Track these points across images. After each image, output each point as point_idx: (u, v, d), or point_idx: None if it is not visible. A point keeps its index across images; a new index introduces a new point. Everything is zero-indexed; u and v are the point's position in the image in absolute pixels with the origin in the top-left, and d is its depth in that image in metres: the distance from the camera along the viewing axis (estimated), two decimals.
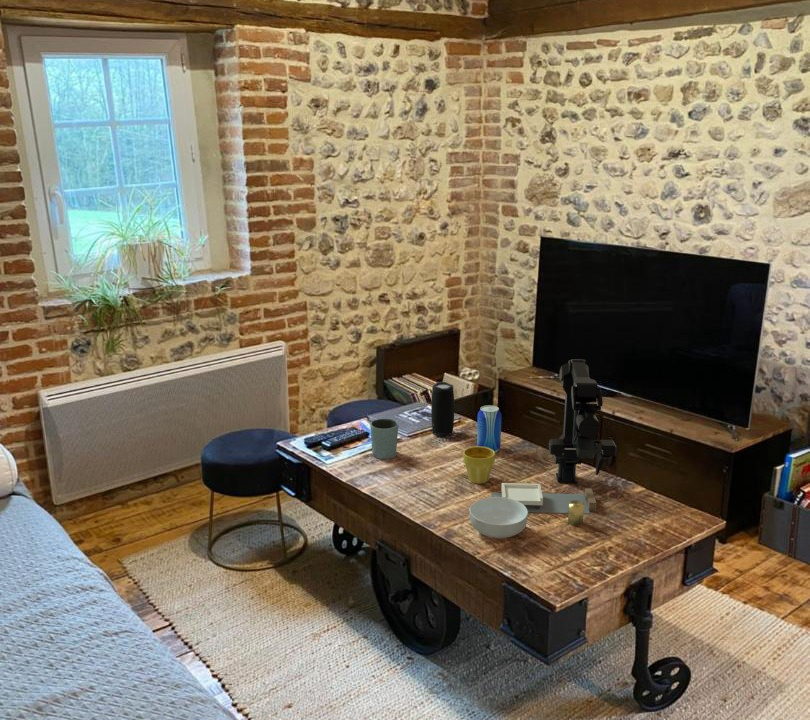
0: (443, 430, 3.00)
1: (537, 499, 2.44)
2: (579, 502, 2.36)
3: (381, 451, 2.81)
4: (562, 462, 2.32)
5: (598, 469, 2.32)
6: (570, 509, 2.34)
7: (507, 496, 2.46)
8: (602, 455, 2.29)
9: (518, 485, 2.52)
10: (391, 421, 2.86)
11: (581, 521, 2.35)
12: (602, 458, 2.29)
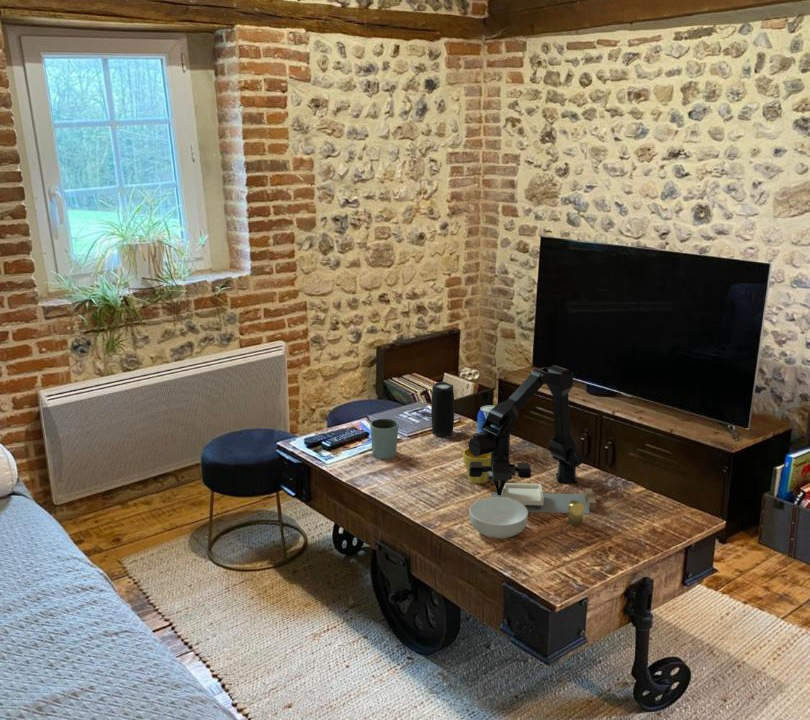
0: (443, 430, 3.00)
1: (538, 499, 2.44)
2: (579, 502, 2.36)
3: (381, 451, 2.81)
4: (495, 484, 2.47)
5: (500, 490, 2.47)
6: (570, 509, 2.34)
7: (508, 496, 2.46)
8: None
9: (519, 485, 2.52)
10: (391, 421, 2.86)
11: (581, 521, 2.35)
12: (503, 480, 2.45)
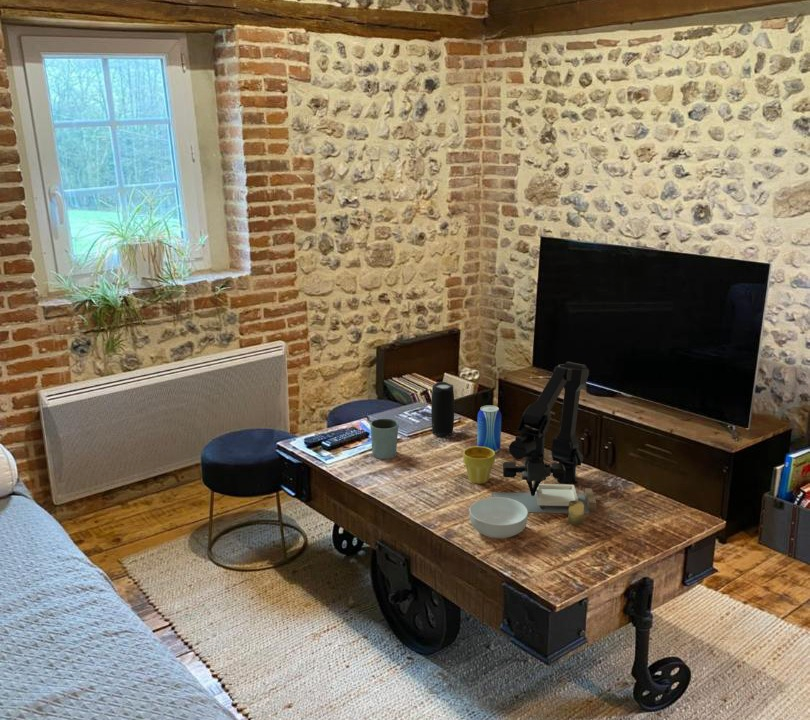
0: (443, 430, 3.00)
1: (572, 500, 2.43)
2: (579, 502, 2.36)
3: (381, 451, 2.81)
4: (529, 484, 2.46)
5: (534, 490, 2.47)
6: (570, 509, 2.34)
7: (542, 497, 2.45)
8: None
9: (552, 486, 2.51)
10: (391, 421, 2.86)
11: (581, 521, 2.35)
12: (537, 480, 2.44)
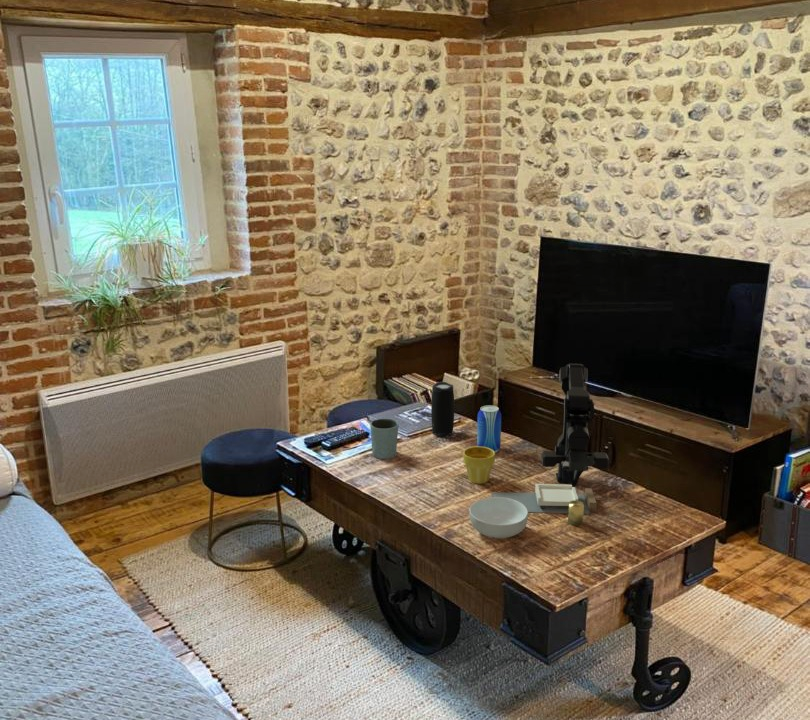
0: (443, 430, 3.00)
1: (572, 500, 2.43)
2: (579, 502, 2.36)
3: (381, 451, 2.81)
4: (570, 475, 2.31)
5: (575, 481, 2.32)
6: (570, 509, 2.34)
7: (542, 497, 2.45)
8: None
9: (552, 486, 2.51)
10: (391, 421, 2.86)
11: (581, 521, 2.35)
12: (579, 470, 2.30)
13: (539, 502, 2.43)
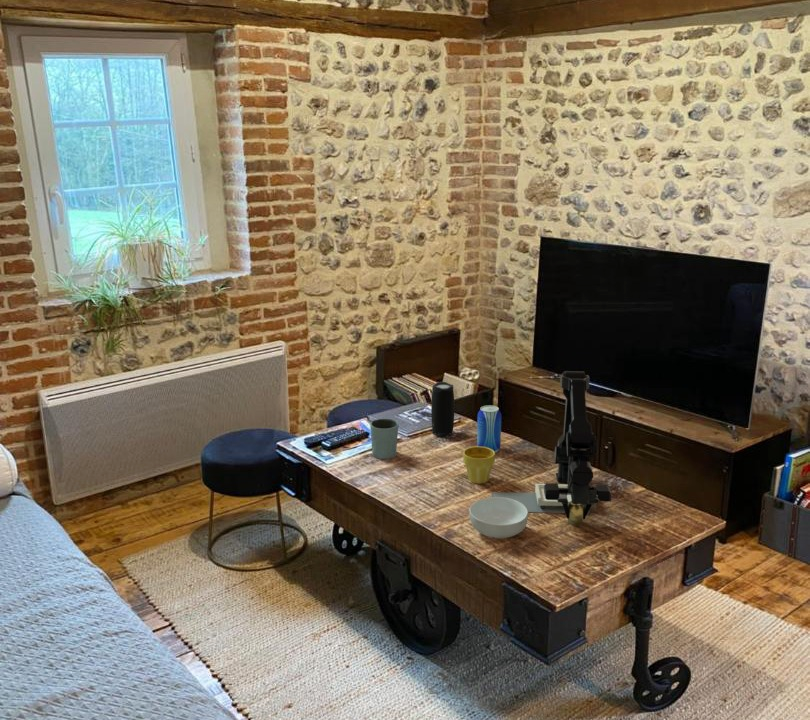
0: (443, 430, 3.00)
1: None
2: None
3: (381, 451, 2.81)
4: (565, 507, 2.34)
5: (585, 513, 2.34)
6: (570, 509, 2.34)
7: (542, 497, 2.45)
8: (589, 500, 2.32)
9: None
10: (391, 421, 2.86)
11: (581, 521, 2.35)
12: (589, 503, 2.32)
13: (539, 502, 2.43)
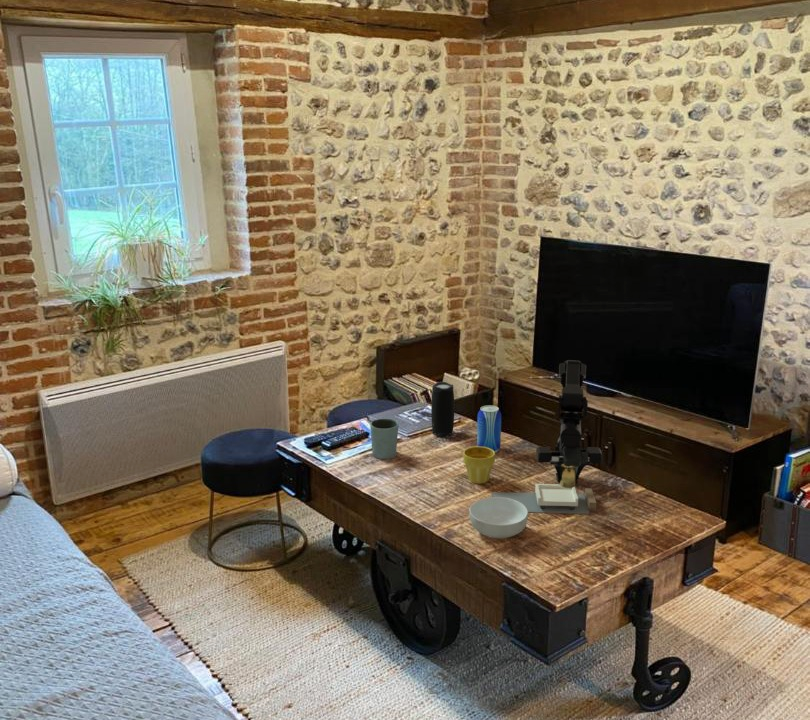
0: (443, 430, 3.00)
1: (572, 500, 2.43)
2: None
3: (381, 451, 2.81)
4: (557, 469, 2.37)
5: (577, 475, 2.38)
6: (562, 471, 2.37)
7: (542, 497, 2.45)
8: (581, 462, 2.35)
9: (552, 486, 2.51)
10: (391, 421, 2.86)
11: (573, 483, 2.38)
12: (581, 465, 2.35)
13: (539, 502, 2.43)
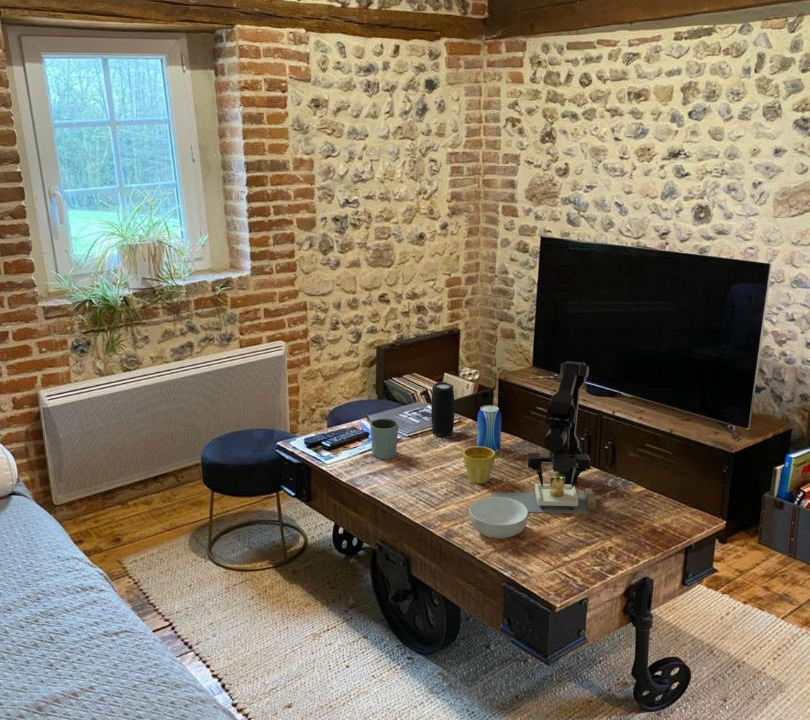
0: (443, 430, 3.00)
1: (572, 500, 2.43)
2: (560, 475, 2.46)
3: (381, 451, 2.81)
4: (539, 475, 2.45)
5: (573, 482, 2.45)
6: (551, 481, 2.45)
7: (542, 497, 2.45)
8: (577, 468, 2.42)
9: None
10: (391, 421, 2.86)
11: (562, 493, 2.45)
12: (577, 471, 2.42)
13: (539, 502, 2.43)
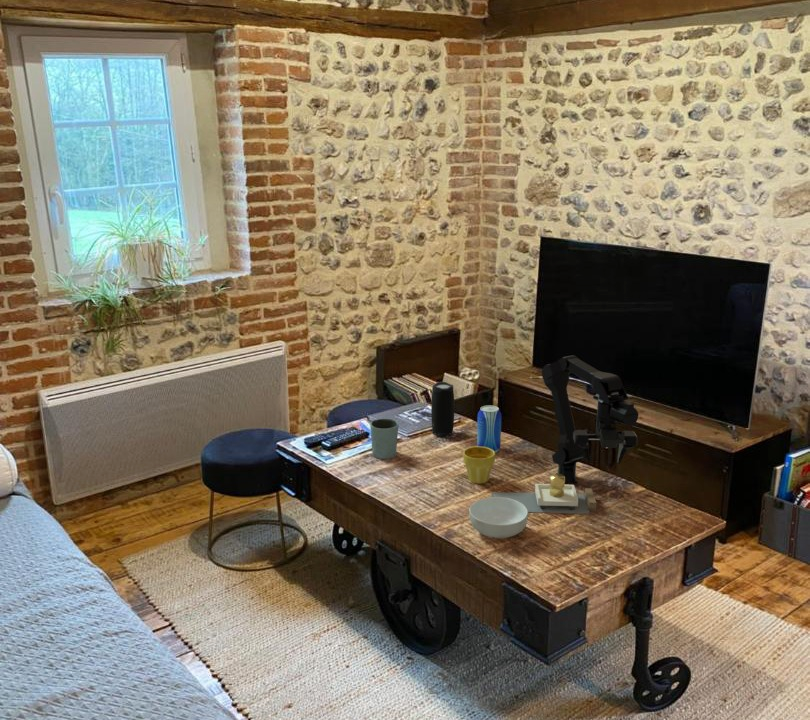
0: (443, 430, 3.00)
1: (572, 500, 2.43)
2: (560, 475, 2.46)
3: (381, 451, 2.81)
4: (586, 452, 2.46)
5: (620, 458, 2.46)
6: (551, 481, 2.45)
7: (542, 497, 2.45)
8: (624, 445, 2.43)
9: None
10: (391, 421, 2.86)
11: (562, 493, 2.45)
12: (624, 448, 2.43)
13: (539, 502, 2.43)
